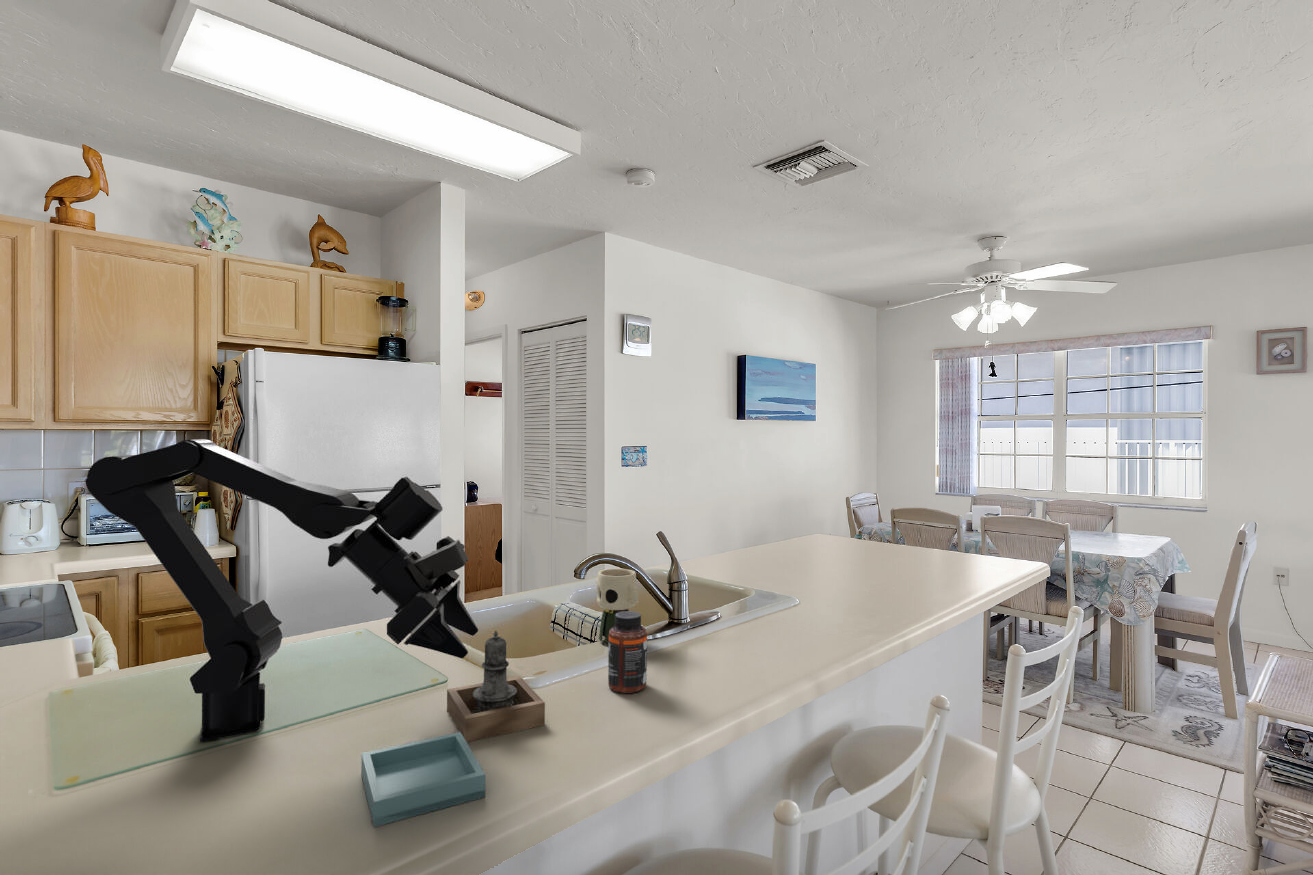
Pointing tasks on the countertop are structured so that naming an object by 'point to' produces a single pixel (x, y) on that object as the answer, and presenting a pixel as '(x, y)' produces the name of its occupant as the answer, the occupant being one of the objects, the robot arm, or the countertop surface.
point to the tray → (420, 777)
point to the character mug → (615, 596)
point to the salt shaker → (494, 678)
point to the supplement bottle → (627, 653)
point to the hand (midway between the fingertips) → (471, 643)
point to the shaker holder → (495, 712)
